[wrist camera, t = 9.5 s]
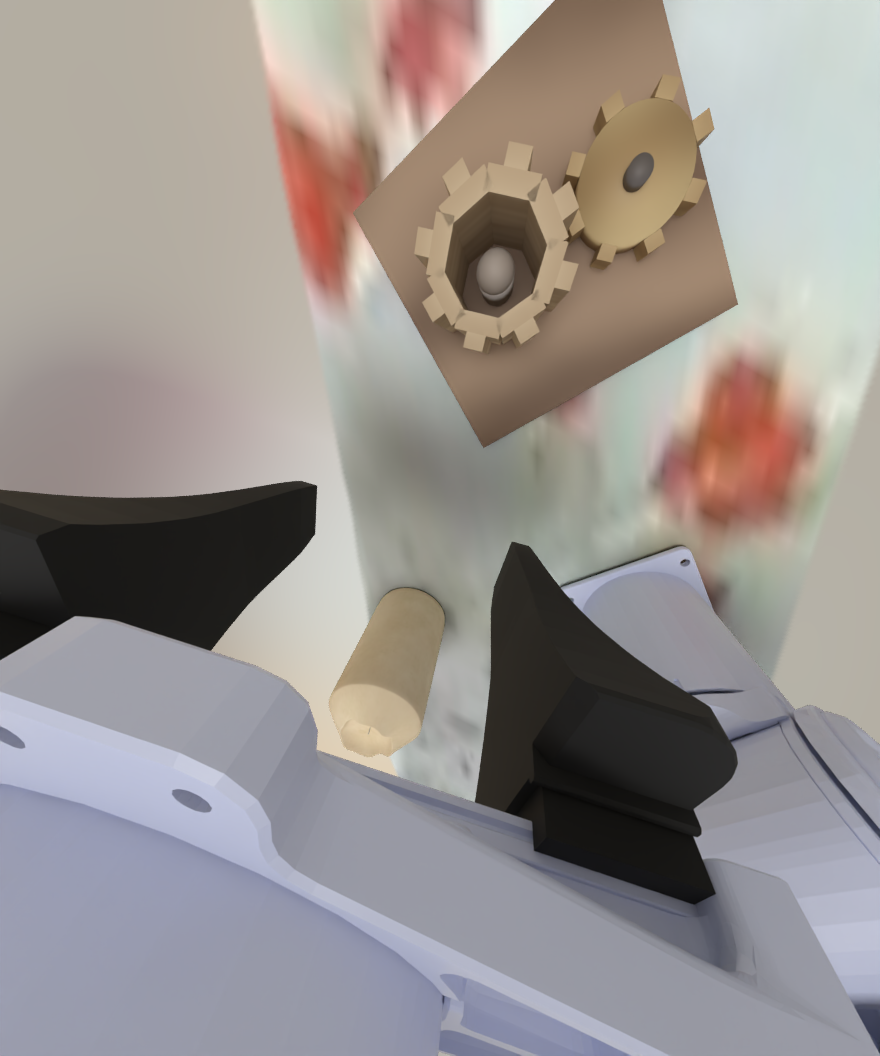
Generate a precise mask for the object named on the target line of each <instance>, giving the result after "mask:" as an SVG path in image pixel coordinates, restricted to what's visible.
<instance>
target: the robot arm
mask: <svg viewBox="0 0 880 1056" xmlns="http://www.w3.org/2000/svg"><path fill="white" fill-rule="evenodd" d="M316 498H317V486H316V485H313V484H309V483H306V482H302V481H293V482H284V483H277V484H271V485H266V486H260V487H253V488H247V489H241V490H234V491H226V492H219V493H212V494H203V495H193V496H179V497H155V498H154V497H151V498H150V497H149V498H106V497H83V496H65V495H51V494H40V493H30V492H19V491H7V490H0V1056H438V1051H439V1052H442V1053H445V1054H448V1055H451V1056H880V744H878V743H877V742H876V741H875V740H874V739H873V738H872V737H870V736H869V735H868V734H867V733H866V732H865V731H864V730H862V729H861V728H860V727H859V726H857V725H856V724H855V723H854V722H852V721H851V720H849V719H848V718H846V717H844V716H840V715H837V714H834V713H831V712H827V711H823V710H821V709H820V708H818V707H816V706H813V705H807V706H804V707H802V708H799V709H796V710H795V709H794V708H793V707H792V705H791V704H790V703H789V702H788V701H787V700H786V698H785V697H784V696H783V695H782V693H781V692H780V691H779V690H778V689H777V687H776V686H775V685H774V684H773V682H772V681H771V680H770V679H769V678H768V676H767V675H766V674H765V673H764V672H763V670H762V669H761V668H760V667H759V666H758V664H757V663H756V662H755V661H754V660H753V658H752V657H751V656H750V655H749V654H748V652H747V651H746V650H745V649H744V648H743V646H742V645H741V644H740V643H739V641H738V640H737V639H736V638H735V637H734V635H733V634H732V633H731V632H730V631H729V629H728V628H727V627H726V626H725V625H724V623H723V622H722V621H721V620H720V619H719V617H718V616H717V615H716V614H715V613H714V611H713V608H712V605H711V603H710V600H709V597H708V595H707V592H706V589H705V587H704V584H703V581H702V579H701V576H700V573H699V571H698V568H697V566H696V563H695V560H694V558H693V555H692V553H691V551H690V550H689V549H688V548H686V547H683V546H680V547H676V548H673V549H670V550H667V551H664V552H662V553H659V554H656V555H653V556H650V557H647V558H644V559H641V560H638V561H636V562H633V563H630V564H627V565H624V566H621V567H618V568H615V569H613V570H610V571H607V572H604V573H601V574H598V575H595V576H592V577H589V578H587V579H584V580H581V581H578V582H575V583H572V584H569V585H566V586H564V587H561V588H560V587H559V585H558V584H557V583H556V582H555V580H554V579H553V578H552V576H551V575H550V574H549V572H548V571H547V570H546V568H545V567H544V566H543V564H542V563H541V561H540V560H539V559H538V557H537V556H536V555H535V553H534V552H533V550H532V549H531V548H530V547H529V546H526V545H523V544H519V543H516V542H512V543H511V545H510V548H509V550H508V553H507V555H506V558H505V561H504V563H503V566H502V568H501V571H500V573H499V576H498V579H497V581H496V584H495V586H494V592H493V599H492V607H491V679H490V689H489V699H488V708H487V717H486V725H485V733H484V742H483V749H482V756H481V764H480V771H479V779H478V785H477V792H476V799H475V802H472V801H469V800H466V799H463V798H460V797H457V796H454V795H451V794H448V793H445V792H442V791H439V790H436V789H433V788H430V787H427V786H424V785H421V784H418V783H415V782H412V781H409V780H406V779H403V778H400V777H397V776H393V775H390V774H388V773H384V772H382V771H378V770H376V769H373V768H370V767H366V766H364V765H361V764H358V763H355V762H351V761H349V760H346V759H343V758H339V757H336V756H334V755H330V754H327V753H324V752H321V751H318V750H316V747H317V732H318V730H317V727H316V724H315V721H314V718H313V715H312V712H311V709H310V706H309V704H308V702H307V700H306V699H304V697H303V696H302V695H300V694H299V693H298V692H297V691H296V690H295V689H294V688H293V687H292V686H291V685H290V684H289V683H288V682H287V681H286V680H284V679H282V678H280V677H278V676H276V675H274V674H272V673H270V672H268V671H266V670H264V669H262V668H260V667H258V666H256V665H253V664H250V663H246V662H243V661H240V660H237V659H234V658H231V657H227V656H225V655H221V654H218V653H215V652H212V651H211V650H212V649H213V647H214V646H215V645H216V643H217V642H218V641H219V640H220V638H221V637H222V636H223V635H224V633H225V632H226V631H227V629H228V628H229V627H230V626H231V624H232V623H233V622H234V621H235V620H236V619H237V617H238V616H239V615H240V614H241V612H242V611H243V610H244V609H245V608H246V607H247V605H248V604H249V603H250V602H251V601H252V600H253V599H254V598H255V597H256V596H257V595H258V594H259V593H260V592H261V591H262V590H263V589H264V588H265V587H266V586H267V585H268V584H269V583H270V582H271V581H272V580H274V578H275V577H277V576H278V575H279V574H280V573H281V572H282V571H283V570H284V569H285V568H286V567H287V566H288V565H289V564H290V563H291V562H292V561H293V560H294V559H295V558H296V557H297V556H298V555H299V554H300V553H301V552H302V551H303V549H304V548H305V547H306V546H307V544H308V543H309V541H310V540H311V538H312V537H313V536H314V535H315V523H316ZM684 559H687V560H686V562H684V563H680V562H681V561H682V560H684ZM570 598H572V599H571V600H570Z"/></svg>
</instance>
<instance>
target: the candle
mask: <svg viewBox="0 0 880 1056" xmlns="http://www.w3.org/2000/svg"><path fill="white" fill-rule="evenodd" d="M444 626H445V616H444V612H443V609H442V607H441V606H440V604H439V603H438V602H437V601H436V600H435V599H434V598H433V597H431V596H430V595H428V594H427V593H425V592H423V591H420V590H417V589H412V588H399V589H395V590H392V591H390V592H389V593H387V594H386V595H385V596H384V597H383V598H382V599H381V601H380V603H379V604H378V606H377V608H376V610H375V612H374V614H373V615H372V617H371V619H370V621H369V623H368V625H367V627H366V629H365V631H364V633H363V635H362V637H361V639H360V640H359V642H358V644H357V646H356V648H355V650H354V652H353V654H352V656H351V658H350V660H349V662H348V663H347V665H346V667H345V669H344V671H343V673H342V675H341V677H340V679H339V681H338V683H337V685H336V686H335V688H334V690H333V692H332V694H331V696H330V699H329V708H330V712H331V715H332V718H333V720H334V723H335V725H336V727H337V730H338V732H339V735H340V738H341V741H342V744H343V746H344V747H345V748H346V749H347V750H350V751H353V752H356V753H358V754H360V755H363V756H366V757H372V756H375V755H377V754H383V755H385V756H387V757H389V756H391V755H392V754H393V753H394V752H396V751H397V750H399V749H400V748H402V747H403V746H405V745H406V744H408V743H410V742H411V741H413V740H414V739H415V738H417V736H418V735H419V733H420V731H421V727H422V723H423V719H424V714H425V710H426V706H427V701H428V697H429V692H430V688H431V684H432V679H433V675H434V671H435V666H436V662H437V657H438V653H439V649H440V644H441V640H442V636H443V631H444Z"/></svg>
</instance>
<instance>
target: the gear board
mask: <svg viewBox="0 0 880 1056" xmlns="http://www.w3.org/2000/svg"><path fill="white" fill-rule="evenodd" d="M713 130H714V126H713V122H712V117H711V113H710V109H709V108H708V109H707V110H706V111H704V112H703V113H702V114H701V115H699V116H698V117H697V118H695V119H694V120H693V121H692V117H691V113H690V109H689V105H688V101H687V97H686V93H685V89H684V85H683V81H682V77H681V73H680V69H679V65H678V61H677V57H676V53H675V49H674V45H673V41H672V37H671V33H670V29H669V25H668V21H667V17H666V13H665V9H664V5H663V1H662V0H555V1H554V2H553V3H552V4H551V5H550V6H549V7H548V8H547V9H546V10H545V11H544V12H543V13H542V14H541V15H540V17H539V18H538V19H537V20H536V21H535V22H534V23H533V24H532V25H531V26H530V27H529V28H528V29H527V30H526V31H525V32H524V33H523V34H522V35H521V37H520V38H519V39H518V40H517V41H516V42H515V43H514V44H513V45H512V46H511V47H510V48H509V49H508V50H507V51H506V52H505V53H504V54H503V55H502V57H501V58H500V59H499V60H498V61H497V62H496V63H495V64H494V65H493V66H492V67H491V68H490V69H489V70H488V71H487V72H486V73H485V74H484V75H483V76H482V78H481V79H480V80H479V81H478V82H477V83H476V84H475V85H474V86H473V87H472V88H471V89H470V90H469V91H468V92H467V93H466V94H465V95H464V96H463V98H462V99H461V100H460V101H459V102H458V103H457V104H456V105H455V106H454V107H453V108H452V109H451V110H450V111H449V112H448V113H447V114H446V115H445V116H444V118H443V119H442V120H441V121H440V122H439V123H438V124H437V125H436V126H435V127H434V128H433V129H432V130H431V131H430V132H429V133H428V134H427V135H426V136H425V138H424V139H423V140H422V141H421V142H420V143H419V144H418V145H417V146H416V147H415V148H414V149H413V150H412V151H411V152H410V153H409V154H408V155H407V156H406V158H405V159H404V160H403V161H402V162H401V163H400V164H399V165H398V166H397V167H396V168H395V169H394V170H393V171H392V172H391V173H390V174H389V175H388V176H387V178H386V179H385V180H384V181H383V182H382V183H381V184H380V185H379V186H378V187H377V188H376V189H375V190H374V191H373V192H372V193H371V194H370V195H369V196H368V197H367V199H366V200H365V201H364V202H363V203H362V204H361V205H360V206H359V207H358V208H357V209H356V210H355V211H354V212H353V214H354V216H355V218H356V219H357V221H358V223H359V225H360V227H361V228H362V230H363V232H364V234H365V236H366V237H367V239H368V241H369V243H370V245H371V246H372V248H373V250H374V252H375V254H376V255H377V257H378V259H379V261H380V263H381V264H382V266H383V268H384V270H385V272H386V273H387V275H388V277H389V279H390V281H391V282H392V284H393V286H394V288H395V290H396V291H397V293H398V295H399V297H400V299H401V300H402V302H403V304H404V306H405V308H406V309H407V311H408V313H409V315H410V317H411V318H412V320H413V322H414V324H415V326H416V327H417V329H418V331H419V333H420V334H421V336H422V338H423V340H424V342H425V343H426V345H427V347H428V349H429V351H430V352H431V354H432V356H433V358H434V360H435V361H436V363H437V365H438V367H439V369H440V370H441V372H442V374H443V376H444V378H445V379H446V381H447V383H448V385H449V387H450V388H451V390H452V392H453V394H454V396H455V397H456V399H457V401H458V403H459V405H460V406H461V408H462V410H463V412H464V414H465V415H466V417H467V419H468V421H469V423H470V424H471V426H472V428H473V430H474V432H475V433H476V435H477V437H478V439H479V441H480V442H481V444H482V446H483V448H484V447H486V446H488V445H490V444H491V443H493V442H495V441H497V440H499V439H500V438H502V437H504V436H506V435H507V434H509V433H511V432H513V431H514V430H516V429H518V428H520V427H522V426H523V425H525V424H527V423H529V422H530V421H532V420H534V419H536V418H538V417H539V416H541V415H543V414H545V413H546V412H548V411H550V410H552V409H553V408H555V407H557V406H559V405H561V404H562V403H564V402H566V401H568V400H569V399H571V398H573V397H575V396H576V395H578V394H580V393H582V392H584V391H585V390H587V389H589V388H591V387H592V386H594V385H596V384H598V383H600V382H601V381H603V380H605V379H607V378H608V377H610V376H612V375H614V374H615V373H617V372H619V371H621V370H623V369H624V368H626V367H628V366H630V365H631V364H633V363H635V362H637V361H638V360H640V359H642V358H644V357H646V356H647V355H649V354H651V353H653V352H654V351H656V350H658V349H660V348H662V347H663V346H665V345H667V344H669V343H670V342H672V341H674V340H676V339H677V338H679V337H681V336H683V335H685V334H686V333H688V332H690V331H692V330H693V329H695V328H697V327H699V326H700V325H702V324H704V323H706V322H708V321H709V320H711V319H713V318H715V317H716V316H718V315H720V314H722V313H724V312H725V311H727V310H729V309H731V308H732V307H734V306H736V305H738V303H737V299H736V295H735V290H734V286H733V282H732V278H731V274H730V270H729V266H728V262H727V258H726V254H725V250H724V246H723V242H722V238H721V234H720V230H719V226H718V222H717V218H716V214H715V210H714V206H713V202H712V198H711V194H710V190H709V186H708V182H707V178H706V174H705V170H704V166H703V162H702V158H701V154H700V150H699V145H700V144H701V143H702V142H703V141H704V140H705V139H706V138H707V137H708V135H709V134H710V133H711V132H712V131H713ZM509 141H511V142H516V143H521V144H525V145H530V146H533V154H532V162H531V170H530V172H535V173H540V174H543V175H542V180H544V179H545V178H546V179H547V181H548V184H549V186H550V189H551V192H552V194H554V193H555V192H556V191H558V190H559V189H560V188H561V187H563V186H564V185H565V184H566V183H567V182H569V181H570V184H571V186H572V189H573V192H574V195H575V197H576V200H577V203H578V206H579V209H578V211H577V213H576V215H575V217H574V219H573V222H572V224H571V226H570V228H569V230H568V232H567V233H568V236H569V237H568V239H567V242H569V243H568V246H567V249H566V252H565V255H564V258H563V261H568V262H572V263H576V264H579V265H578V268H577V271H576V273H575V276H574V279H573V282H572V285H571V288H570V291H569V292H568V293H567V294H566V296H565V297H564V298H563V299H562V300H561V301H560V302H559V303H558V304H557V306H556V307H555V308H554V309H553V310H552V311H551V312H549V311H545V310H544V311H543V313H542V314H541V315H540V317H539V318H538V319H537V321H536V324H537V326H538V329H539V331H540V332H539V333H537V334H536V335H535V336H534V337H533V338H532V339H531V340H529V341H528V342H526V343H525V344H523V345H522V346H520V347H519V348H517V349H516V347H515V345H514V342H513V340H512V339H511V340H509V341H508V342H507V343H505V344H504V345H503V343H502V342H501V345H497V344H493V343H491V347H490V351H489V354H485V353H481V352H477V351H473V350H470V349H467V348H464V347H463V345H464V341H465V337H466V335H464V334H463V333H461V332H460V331H458V330H456V331H455V332H454V333H452V332H450V331H448V330H446V329H445V328H443V327H441V326H439V325H437V324H435V323H433V322H432V320H431V318H430V316H429V314H428V312H427V311H426V309H425V307H424V305H423V303H422V302H423V301H424V300H426V299H427V298H428V297H429V296H430V295H432V294H433V293H434V292H433V290H432V288H431V286H430V284H429V282H428V280H427V278H429V277H428V276H427V275H426V272H427V268H426V267H425V266H424V265H423V264H422V263H421V261H420V260H419V259H418V258H417V257H416V256H415V254H414V252H415V245H416V238H417V231H418V227H422V228H427V229H431V230H433V228H434V222H435V216H436V211H437V212H441V211H440V209H439V206H440V205H441V204H442V203H443V202H444V201H445V200H446V199H447V198H448V197H449V195H448V192H447V189H446V186H445V183H444V181H443V178H442V176H443V175H444V174H446V173H447V172H448V171H449V170H450V169H451V168H452V167H453V166H454V165H455V164H456V163H457V162H458V161H459V160H460V159H461V158H463V160H464V162H465V165H466V167H467V169H468V171H469V174H470V176H472V175H473V174H474V173H475V172H476V171H477V170H478V169H479V168H480V167H481V166H482V165H483V164H485V167H486V169H487V168H488V163H489V162H490V163H494V164H499V165H503V166H504V162H505V158H506V153H507V149H508V144H509ZM542 180H541V181H542ZM534 281H535V280H534V277H533V275H532V273H531V270H530V268H529V266H528V263H527V261H526V259H525V256H524V254H523V252H522V251H521V250H517V249H513V248H508V247H504V246H500V245H496V244H494V245H492V246H491V247H490V248H489V249H488V250H486V251H485V252H484V253H483V254H482V255H480V256H479V257H478V258H477V259H475V260H474V261H473V262H472V263H471V264H469V268H468V273H467V278H466V282H465V287H464V292H463V297H462V298H463V300H464V302H465V304H466V306H467V308H468V310H469V311H472V312H476V313H480V314H484V315H488V316H492V317H496V318H499V317H501V316H502V315H504V314H505V313H506V312H508V311H509V310H511V309H512V308H513V307H515V306H516V305H517V304H519V303H520V302H522V301H523V300H524V299H526V298H527V297H528V296H530V295H531V291H532V288H533V284H534Z"/></svg>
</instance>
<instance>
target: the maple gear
mask: <svg viewBox="0 0 880 1056" xmlns="http://www.w3.org/2000/svg"><path fill="white" fill-rule="evenodd" d="M532 154H533V146H530V145H525V144H521V143H516V142H511V141H509V144H508V149H507V153H506V158H505V162H504V166H503V165H499V164H494V163H490V162H489V163H488V168H487V169H486V167H485V164H483V165H482V166H481V167H480V168H479V169H478V170H477V171H476V172H475V173H474V174H473V175H472V176H470V174H469V171H468V169H467V167H466V165H465V162H464V160H463V158H461V159H460V160H459V161H458V162H457V163H456V164H455V165H454V166H453V167H452V168H451V169H450V170H449V171H448V172H447V173H446V174H444V175H443V176H442V178H443V181H444V183H445V186H446V189H447V192H448V195H449V197H448V198H447V199H446V200H445V201H444V202H443V203H442V204H441V205H440V206H439V209H440V211H441V212H437V211H436V216H435V222H434V228H433V230H431V229H427V228H422V227H418V231H417V238H416V245H415V252H414V254H415V256H416V257H417V258H418V259H419V260H420V261H421V263H422V264H423V265H424V266H425V267H426V268H427V272H426V275H427V276H428V277H429V278H427V280H428V282H429V284H430V286H431V288H432V290H433V292H434V293H433V294H432V295H430V296H429V297H428V298H427V299H426V300H424V301H423V302H422V303H423V305H424V307H425V309H426V311H427V312H428V314H429V316H430V318H431V320H432V322H433V323H435V324H437V325H439V326H441V327H443V328H445V329H446V330H448V331H450V332H452V333H454V332H455V331H456V330H458V331H460V332H461V333H463V334H464V335H466V337H465V341H464V345H463V347H464V348H467V349H470V350H473V351H477V352H481V353H485V354H489V351H490V347H491V343H493V344H497V345H501V342H502V343H503V345H504V344H505V343H507V342H508V341H509V340H511V339H512V340H513V342H514V345H515V347H516V349H517V348H519V347H520V346H522V345H523V344H525V343H526V342H528V341H529V340H531V339H532V338H533V337H534V336H535V335H536V334H537V333H539V332H540V331H539V329H538V326H537V324H536V321H537V319H538V318H539V317H540V315H541V314H542V313H543V311H544V310H545V311H549V312H551V311H552V310H553V309H554V308H555V307H556V306H557V304H558V303H559V302H560V301H561V300H562V299H563V298H564V297H565V296H566V294H567V293H568V292H569V291H570V288H571V285H572V282H573V279H574V276H575V273H576V271H577V268H578V265H579V264H576V263H572V262H568V261H563V258H564V255H565V252H566V249H567V246H568V243H569V242H567V239H568V237H569V236H568V233H567V232H568V230H569V228H570V226H571V224H572V222H573V219H574V217H575V215H576V213H577V211H578V209H579V206H578V203H577V200H576V197H575V195H574V192H573V189H572V186H571V184H570V181H569V182H567V183H566V184H565V185H564V186H563V187H561V188H560V189H559V190H558V191H556V192H555V193H554V194H552V192H551V189H550V186H549V184H548V181H547V179H546V178H545V179H544V180H542V175H543V174H540V173H535V172H530V170H531V162H532ZM541 180H542V181H541ZM494 244H496V245H500V246H504V247H508V248H513V249H517V250H521V251H522V252H523V254H524V256H525V259H526V261H527V263H528V266H529V268H530V270H531V273H532V275H533V277H534V280H535V281H534V284H533V288H532V291H531V295H530V296H528V297H527V298H526V299H524V300H523V301H522V302H520V303H519V304H517V305H516V306H515V307H513V308H512V309H511V310H509V311H508V312H506V313H505V314H504V315H502V316H501V317H499V318H496V317H492V316H488V315H484V314H480V313H476V312H472V311H469V310H468V308H467V306H466V304H465V302H464V300H463V298H462V297H463V292H464V287H465V282H466V278H467V273H468V268H469V264H471V263H472V262H473V261H474V260H475V259H477V258H478V257H479V256H480V255H482V254H483V253H484V252H485V251H486V250H488V249H489V248H490V247H491V246H492V245H494Z"/></svg>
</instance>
